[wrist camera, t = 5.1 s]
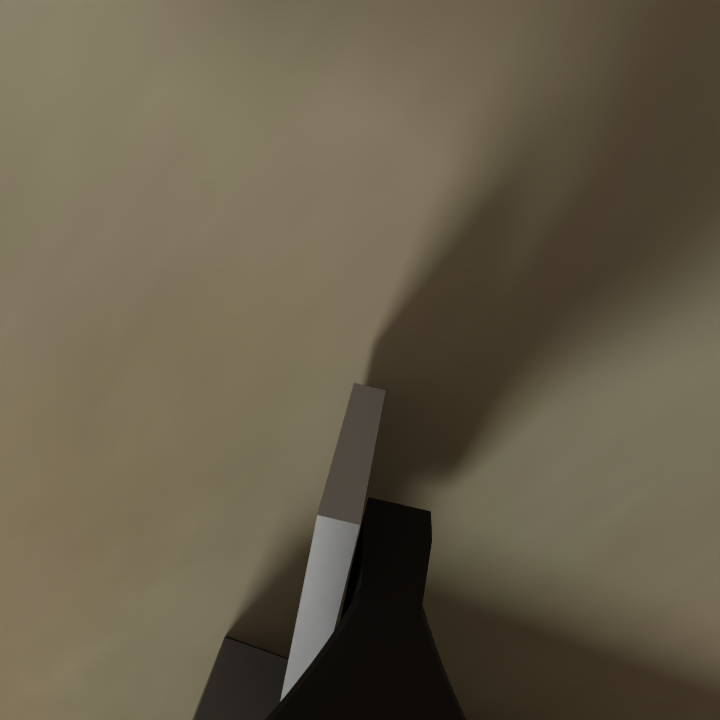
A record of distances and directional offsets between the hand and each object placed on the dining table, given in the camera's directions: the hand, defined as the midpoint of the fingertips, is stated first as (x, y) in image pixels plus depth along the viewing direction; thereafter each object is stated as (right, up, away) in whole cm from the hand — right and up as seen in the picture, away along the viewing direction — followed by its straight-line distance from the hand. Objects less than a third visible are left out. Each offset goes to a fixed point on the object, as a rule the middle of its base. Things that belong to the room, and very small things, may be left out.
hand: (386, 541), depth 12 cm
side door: (-1, -1, +2) cm, 2 cm away
